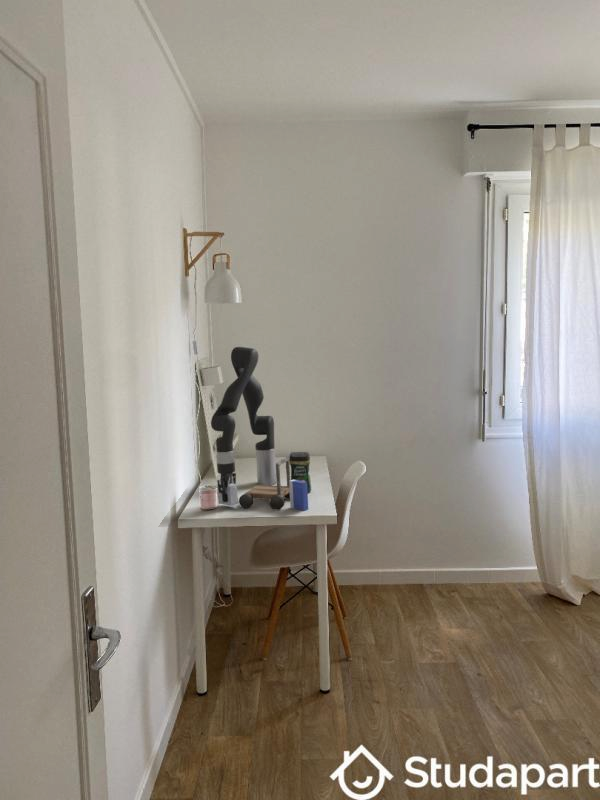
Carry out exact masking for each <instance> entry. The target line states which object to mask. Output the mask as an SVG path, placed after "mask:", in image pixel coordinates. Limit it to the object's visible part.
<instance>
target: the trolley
mask: <svg viewBox="0 0 600 800" xmlns="http://www.w3.org/2000/svg"><path fill="white" fill-rule="evenodd" d="M289 458H290V456H286V457H284V458H282V459H281V460H279V461H278V462H275V463H276V481H277V483H276V485H263V484H259V485H258V484H257V485H255V486H254V487H252V488H251V489H249V490H247V491H246V492H244V494H241V496H240V497H238V504H239V505H240V506H241V508H243V509H249V508H251V507H252V506H253V504H254V502H255V500H254V499H262V500H263V499H264V500H265V499H266V500H269V506H270V507H271V508H272V509H273V510H275V511H278V510H281V509H283V508H284V506H285V503H286V501H285V499H287V500H289V499H290V491H289V490H290V488H289V481H290V480H291V465H290V463H289ZM283 464H285V470H286V471H285V472H286V473H285V474H286V485H281V484H282V483H281V471H280V470H281V468H280V466H281V465H283ZM284 498H285V499H284Z"/></svg>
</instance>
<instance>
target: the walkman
mask: <svg viewBox="0 0 600 800" xmlns="http://www.w3.org/2000/svg"><path fill="white" fill-rule="evenodd" d="M289 488H290V490H289V491H290V500H289V503H290V504H289V506H290V509H294V510H299V511H306V510H309V496H308V492H307V482H305V481H304V480H302V481H300V480H291V479H290V481H289Z"/></svg>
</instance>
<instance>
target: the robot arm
mask: <svg viewBox="0 0 600 800" xmlns="http://www.w3.org/2000/svg"><path fill="white" fill-rule="evenodd" d="M230 361H231V365H232V367H233V369H234V372H235V375H236V377H237V378H236V379H235V380H234V381H233V382H232V383H231V384H229V385H228V387H227V389H225V392H224V394H223V396H222V397H223V398H222V400H221V403H220V405H219V406H218V407H217V409H216V411H215V412H214V414H213V415H212V417H211V420H210V426H211V429H212V430H213V431H215V432H222V434H221V435H222V436H219V437H217V438H216V440H215V445H216V446H215V447H216V468H217V473H218V474H220V479H217V480H216V482H217V485H218V488H217V490H218V489H219V493H222V501H223V502H228V496H227V488H228V486H229V484H231V483H232V484H237V473H235V471H236V463H235V462H236V461H235V454H234V453H235V452H234V445H233V444H234V443H233V441H234V437H235V436H234V435H235V430H236V421H235V418H234V416H232V415H230V414H232V413H235V412H236V411H237V409H238V407H239V403H240V400H241V397H242V396H243V401H244V403H245V407H246V410H247V415H248V419H249V424H250V429H251V432H252V434H253V435H255V436H266V437H265V439H263V440H260V441H258V442H256V443H255V447H254V448H255V457H256V458H255V459H256V460H255V462H256V463H255V464H256V476H257V477H256V478H257V485H259V484H263V485H267V486H274V485H275V484H276V485H277V478H276V463H277V462H276V449H275V422H274V421H275V420H274V417H273V416H272V415H258V414H257V412H258V410H259V409H260V407H261V405H262V403H263V401H264V391H263V388H262V385H261V383H260V381H258V379H257V378H256V377H255V376H254V375H253V373H254V371H255V369H256V367H257V365H258V361H259V352H258V351H257V349H255V348H252V347H244V346H235V347H233V349H232V350H231V353H230ZM224 485H227V486H224Z"/></svg>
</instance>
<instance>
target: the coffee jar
mask: <svg viewBox="0 0 600 800" xmlns="http://www.w3.org/2000/svg"><path fill="white" fill-rule="evenodd" d="M310 463H311V456H310V452H309V451H292V452H291V453H289V465H290V480H300V481H302V480H304V481H305V482H307V492H308V493H311V491H312V481H311V474H310V473H311V472H310Z"/></svg>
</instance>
